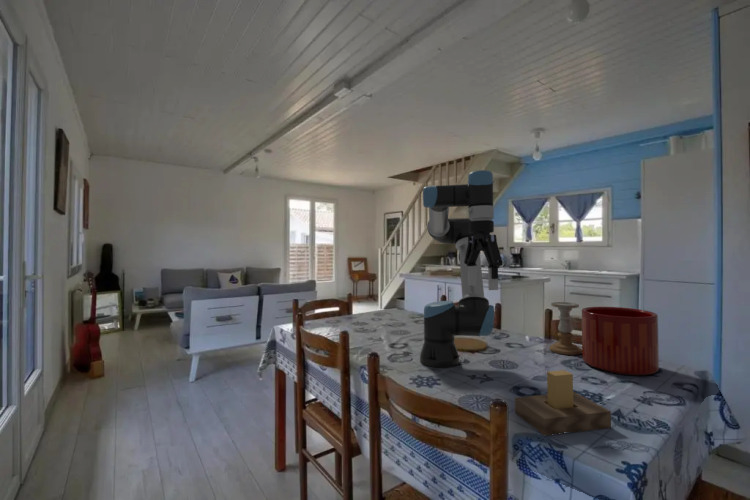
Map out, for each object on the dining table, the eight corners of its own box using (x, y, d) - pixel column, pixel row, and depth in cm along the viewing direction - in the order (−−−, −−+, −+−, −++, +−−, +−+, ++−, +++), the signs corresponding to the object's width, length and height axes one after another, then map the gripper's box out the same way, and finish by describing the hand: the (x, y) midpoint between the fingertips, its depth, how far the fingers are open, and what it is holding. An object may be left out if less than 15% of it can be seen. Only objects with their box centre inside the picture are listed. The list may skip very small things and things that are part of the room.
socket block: (544, 436, 81) (544, 418, 81) (515, 412, 93) (514, 397, 93) (611, 427, 84) (610, 411, 84) (574, 406, 96) (573, 391, 96)
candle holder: (552, 354, 143) (551, 305, 144) (547, 346, 155) (546, 301, 155) (586, 356, 140) (585, 306, 140) (578, 348, 152) (577, 302, 152)
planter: (587, 353, 144) (586, 304, 144) (659, 364, 129) (658, 310, 130) (577, 368, 126) (576, 312, 126) (659, 382, 112) (657, 320, 112)
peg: (547, 418, 89) (547, 371, 89) (565, 416, 90) (564, 370, 90) (556, 423, 86) (555, 375, 87) (573, 421, 87) (572, 374, 87)
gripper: (453, 223, 121) (454, 284, 121) (490, 216, 97) (491, 292, 97) (473, 223, 123) (474, 283, 122) (514, 216, 98) (516, 291, 98)
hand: (482, 287), depth 109 cm, fingers open, 13 cm apart
